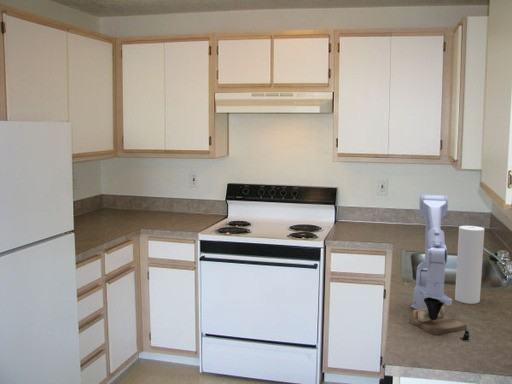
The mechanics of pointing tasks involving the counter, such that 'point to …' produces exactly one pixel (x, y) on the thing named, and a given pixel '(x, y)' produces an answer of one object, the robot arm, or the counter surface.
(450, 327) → the board
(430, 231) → the robot arm
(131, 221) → the counter surface
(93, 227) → the counter surface
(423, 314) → the hinged leg
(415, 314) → the block
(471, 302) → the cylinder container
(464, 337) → the sculpture
